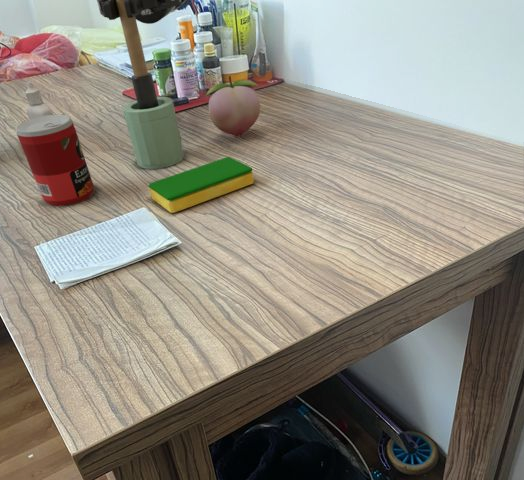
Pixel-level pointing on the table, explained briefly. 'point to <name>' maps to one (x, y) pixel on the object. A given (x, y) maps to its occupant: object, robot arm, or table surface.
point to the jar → (154, 134)
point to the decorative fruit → (234, 106)
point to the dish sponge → (201, 184)
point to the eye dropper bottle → (36, 103)
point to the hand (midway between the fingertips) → (118, 9)
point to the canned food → (56, 159)
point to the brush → (137, 61)
